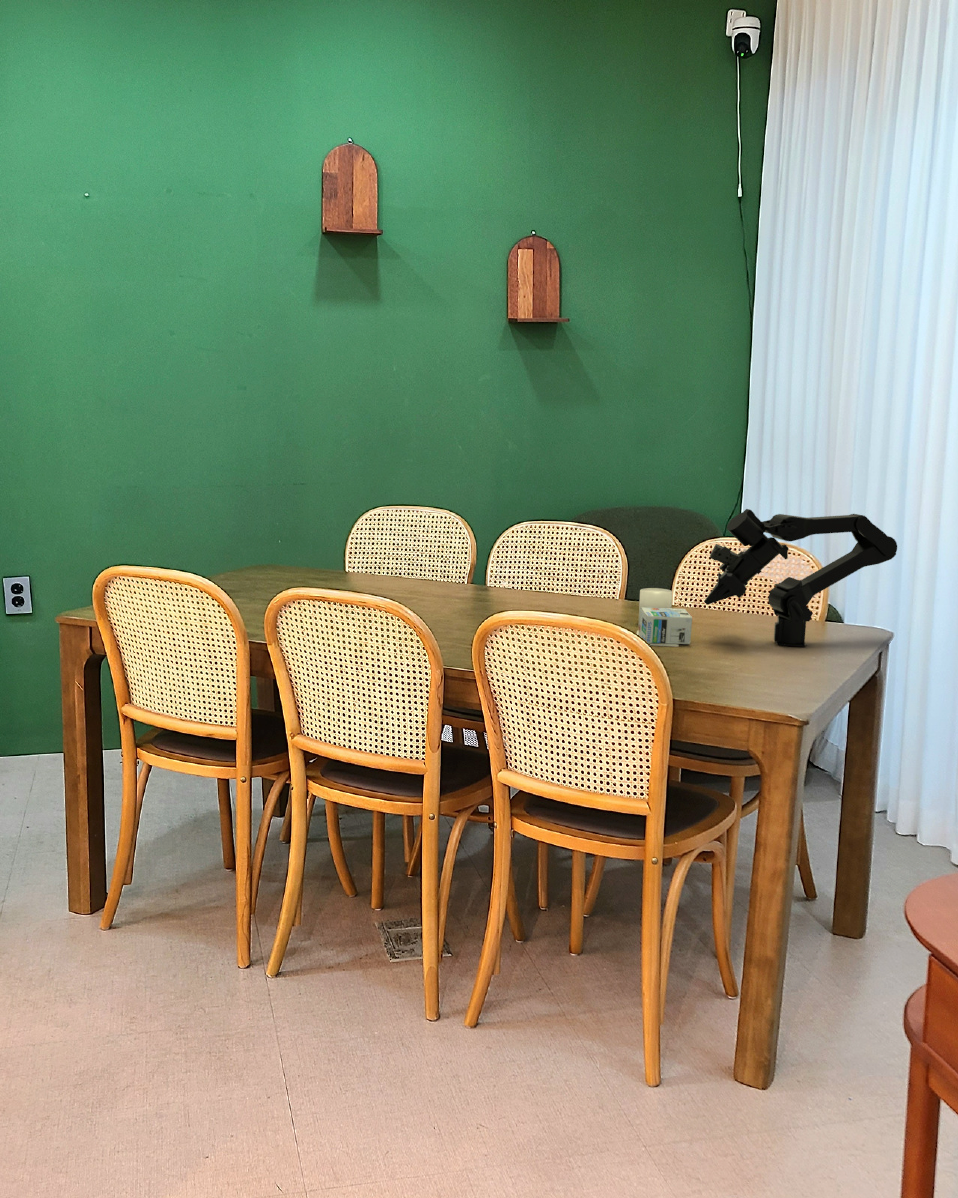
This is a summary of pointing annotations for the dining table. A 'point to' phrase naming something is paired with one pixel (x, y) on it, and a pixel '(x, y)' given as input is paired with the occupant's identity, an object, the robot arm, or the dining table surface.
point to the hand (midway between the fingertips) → (705, 603)
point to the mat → (660, 643)
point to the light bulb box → (665, 625)
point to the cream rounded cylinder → (655, 598)
